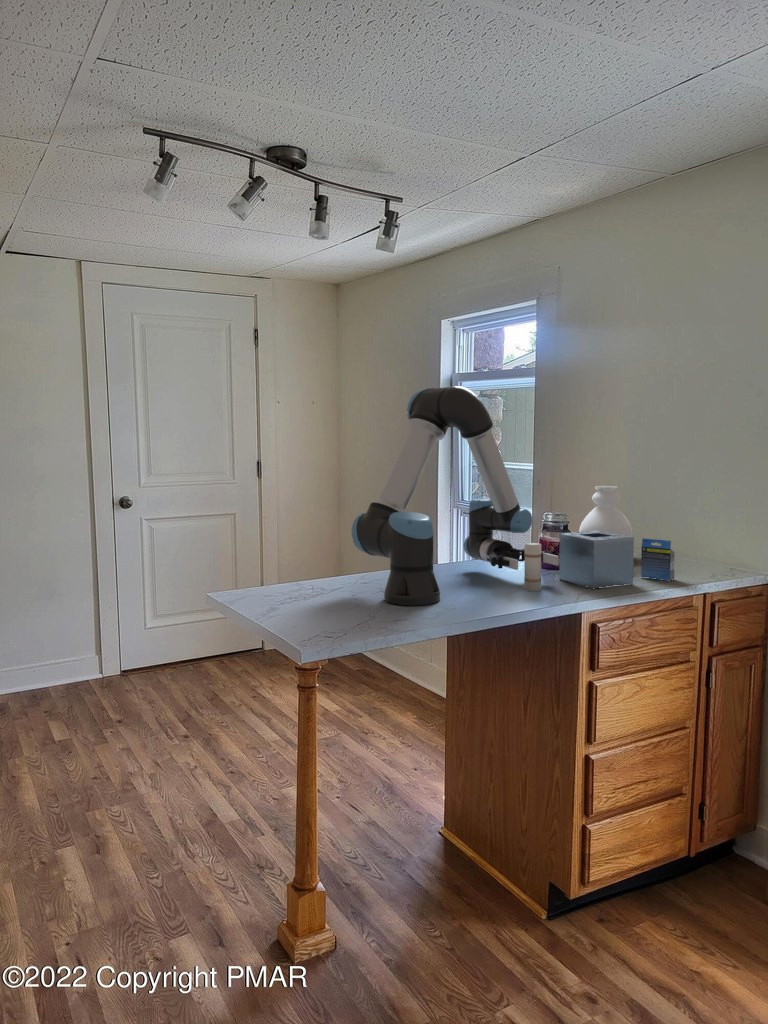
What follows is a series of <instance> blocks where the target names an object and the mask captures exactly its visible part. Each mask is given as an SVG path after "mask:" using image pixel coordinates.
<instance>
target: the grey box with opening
mask: <svg viewBox="0 0 768 1024" xmlns="http://www.w3.org/2000/svg"><path fill="white" fill-rule="evenodd" d="M634 540H635V537H634V536H633V535H632V536H626V535H621V534H615V533H609V532H604V531H598V530H596V531H585V532H579V531H576V532H575V531H574V532H564V533H563V532H562V533H559V565H558V567H559V573H558V575H559V576H558V577H559V578H558V579H559V580H560V579H561V580H560V581H563V580H564V582H566V581H568V582H567V583H570V582H572V583H571V584H573V583H576V584H575V585H577V584H580V585H583V586H582V587H584V586H588V587H591V588H599V587H606V586H613V585H624V584H633V585H634V549H635V548H634V542H635V541H634ZM580 585H579V586H580Z"/></svg>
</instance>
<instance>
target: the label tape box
mask: <svg viewBox="0 0 768 1024" xmlns="http://www.w3.org/2000/svg"><path fill="white" fill-rule="evenodd" d="M641 540H642V541H641V564H640V565H641V566H640V567H641V568H640V569H641V571H640V573H641V574H640V576H641V577H649V578H656V579H663V580H670V581H669V582H672V581H673V580H672V579H674V580H675V551H673V550H672V549H671V546H672V541H671V540H665V539H656V538H655V539H654V538H645V537H644V538H641ZM656 543H657V544H660V545H656ZM663 580H662V581H663ZM671 580H672V581H671Z"/></svg>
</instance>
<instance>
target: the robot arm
mask: <svg viewBox="0 0 768 1024" xmlns="http://www.w3.org/2000/svg"><path fill="white" fill-rule="evenodd" d="M406 411H407V418H408V421H407V426H408V428H409V431H408V433H407V435H406V437H405V440H404V442H403V445H402V447H401V449H400V450H399V453H398V455H397V458H396V460H395V462H394V464H393V466H392V469H391V471H390V473H389V475H388V477H387V479H386V481H385V484H384V486H383V488H382V490H381V493H380V495H379V497H378V499H377V500H373V501H371V502H370V503H369V506H368V507H367V510H366V512H363V513H361V514H358V515H357V516H356V517H355V518H354V520H353V522H352V524H351V538H352V541H353V542H352V543H354V546H355V547H356V548H357V549H358V550H359V551H360V552H362V553H364V554H368V555H369V556H373V557H374V556H377V557H381V558H382V557H383V558H387V559H389V563H390V564H389V566H390V567H389V570H390V571H389V575H388V579H387V582H386V584H385V588H384V592H383V597H384V598H383V599H385V600H386V601H387V602H390V603H393V604H392V605H395V604H399V605H398V606H404V605H409V606H408V607H411V606H416V607H417V606H426V605H433V604H436V603H439V602H440V600H441V591H440V587H439V584H438V581H437V578H436V576H435V572H434V528H433V520H432V519H431V517H429V516H428V515H426V514H424V513H420V512H413V511H412V512H411V511H407V509H408V507H409V504H410V502H411V500H412V499H413V495H414V494H415V491H416V490H417V489H416V488H417V487H418V485H419V482H420V480H421V477H422V475H423V473H424V471H425V468H426V467H427V464H428V462H429V459H430V457H431V455H432V452H433V451H434V448H435V445H436V444H437V442H439V441H441V440H443V439H444V438H445V435H447V434H446V433H447V431H448V429H449V428H456V429H457V430H458V432H460V433H459V434H460V436H461V438H462V439H465V440H466V441H467V444H468V447H469V449H470V451H471V452H470V453H472V457H473V459H474V462H475V464H476V467H477V470H478V471H479V474H480V476H481V480H482V482H483V484H484V487H485V489H486V491H487V494H488V497H489V498H473V499H471V500H470V501H469V506H468V507H469V508H468V527H469V528H468V529H469V530H468V531H469V533H468V536H467V537H466V538H465V540H464V542H463V551H464V553H465V554H466V555H467V556H468V557H470V558H473V559H475V560H480V561H483V562H486V563H489V564H490V565H491V567H496V566H497V568H498V569H503V568H507V569H511V570H515V571H517V570H518V571H519V562H525V556H524V553H525V548H522V549H519V548H515V547H513V545H512V544H511V543H509V542H507V541H506V540H505V541H504V540H500V539H495V538H494V537H493V535H494V534H493V533H494V531H496V532H497V531H499V532H504V533H511V534H525V533H527V532H528V531H529V530H530V529H531V526H532V525H533V524H532V523H533V516H532V513H531V512H530V511H529V509H526V508H524V507H521V506H520V503H519V501H518V497H517V495H516V493H515V490H514V487H513V485H512V482H511V479H510V476H509V474H508V471H507V468H506V466H505V463H504V461H503V458H502V455H501V453H500V450H499V447H498V445H497V444H498V443H497V441H496V440H495V437H494V434H493V432H492V429H493V427H494V422H493V421H492V418H491V415H490V414H489V411H488V409H487V408H486V406H485V405H484V403H483V402H482V400H480V398H479V397H478V396H477V394H475V393H474V392H473V391H472V390H470V389H468V388H466V387H463V386H461V385H460V386H458V385H453V386H446V387H428V388H424V389H421V390H417V391H416V392H415V393H414V394H413V395H412V396H411V397H410V399H409V400H408V403H407V408H406ZM559 559H560V555H555V554H552V552H551V551H548V550H547V549H546V550H544V551H543V550H541V562H543V563H545V564H549V565H553V566H556V567H557V566H558V567H559ZM385 600H384V601H385ZM386 601H385V602H386ZM387 602H386V603H387ZM390 603H389V604H390Z"/></svg>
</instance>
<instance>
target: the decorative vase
mask: <svg viewBox="0 0 768 1024" xmlns="http://www.w3.org/2000/svg"><path fill="white" fill-rule="evenodd" d="M594 489H595V490H597V491H596V492H595V493H594V494H593V495H592V497H591V499H592V502H593V503H594V504H595V505H596V506H595V507H593V509H591V510H590V511H589V512H588V514H587V515H586V516H585V517H584V518H583V520H582V521H581V523H580V526H579V530H578V532H585V531H596V530H598V531H604V532H609V533H615V534H621V535H626V536H632V537H633V527H632V525H631V522H630V521H629V520H628V518H627V517H626V516H625V514H624V513H623V512H622V511H621V510H620V509H619V508H618V507H617V506H616V505H617V504H618V503H619V502H620V501H621V495H620V494H619V493H618V492H616V491H615V490H617V489H618V486H616V485H596V486H594Z"/></svg>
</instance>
